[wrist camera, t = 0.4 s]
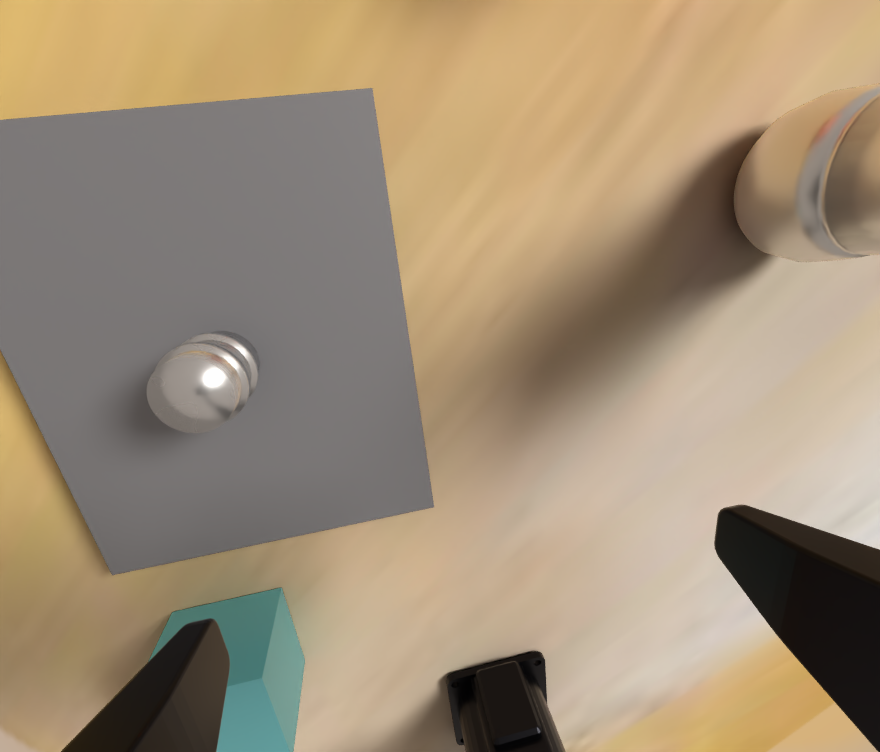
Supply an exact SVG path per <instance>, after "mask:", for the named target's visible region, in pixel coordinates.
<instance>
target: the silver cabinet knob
mask: <svg viewBox="0 0 880 752" xmlns="http://www.w3.org/2000/svg"><path fill="white" fill-rule="evenodd" d="M259 369H260V360H259V356H258V353H257V351H256V349H255V348H254V346H253V345H252V344H251V343H250V342H249V341H248V340H247V339H245V338H244V337H242V336H241V335H239V334H236V333H233V332H229V331H215V332H211V333H203V334H199V335H196V336H193V337H191V338H190V339H188V340H186V341H185V342H184V343H182V344H181V345H180V346H178V347H176V348H174V349H173V350H171V351H170V352H168V353H167V354H166V355H165V356H164V357H162V359H161V360H160V361H159V362H158V364H157V366H156V368H155V371H154V372H153V374H152V375H151V377H150V379H149V381H148V384H147V400H148V403H149V405H150V408H151V409H152V411H153V412H154V414H155V415H156V416H157V417H158V418H159V419H160V420H161V421H162V422H163V423H165V424H166V425H168V426H170V427H171V428H174V429H176V430H179V431H182V432H187V433H204V432H208V431H211V430H214V429H216V428H218V427H219V426H221V425H222V424H224V423H225V422H227V421H229V420H231V419H232V418H234V417H235V416H236V415H237V414H238V413H239V412H240V411H241V410H242V409H243V407H244V405H245V404H246V402H247V400H248V398H249V397H250V396H251V395H252V393H253V392H254V390H255V388H256V386H257V383H258V379H259Z"/></svg>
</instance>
